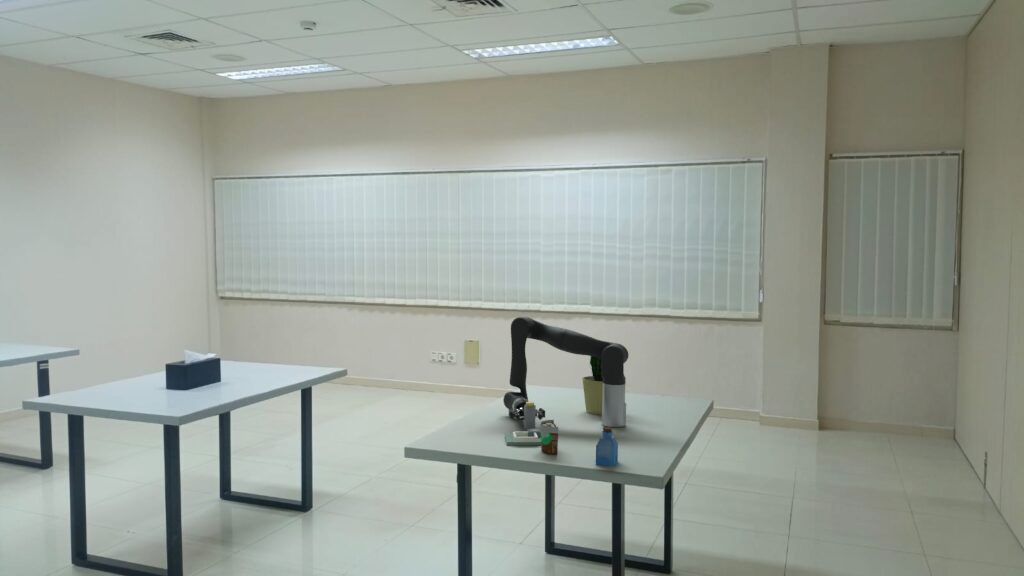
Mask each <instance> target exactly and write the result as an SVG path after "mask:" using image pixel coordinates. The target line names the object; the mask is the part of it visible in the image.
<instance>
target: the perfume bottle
mask: <svg viewBox="0 0 1024 576" xmlns="http://www.w3.org/2000/svg"><path fill="white" fill-rule="evenodd" d="M601 433H602V436H601V437H600V438H599V440H598V442H597V444H596V446H595V465H597V466H604V465H605V466H606V467H615V466H616V465H617V464H618V462H619V461H618V459H619V458H618V457H619V442H618V441H617V439H616V437H615V436H613V433H614V432H613V427H608V426H603V427H602V431H601ZM615 464H616V465H615ZM605 466H604V467H605Z"/></svg>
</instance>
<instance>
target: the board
mask: <svg viewBox="0 0 1024 576" xmlns="http://www.w3.org/2000/svg"><path fill="white" fill-rule="evenodd" d="M504 439H505V443H506V444H505V445H506V446H541V432H540V430H539V428H535V429H527V432H524V431H512V433H504Z"/></svg>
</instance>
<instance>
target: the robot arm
mask: <svg viewBox="0 0 1024 576" xmlns="http://www.w3.org/2000/svg"><path fill="white" fill-rule="evenodd" d="M510 339H511V361H510V362H511V363H510V372H509V373H510V374H509V376H510V377H509V385H510V386H511V387H514V388H517V389H519V390H520V392H519V391H507V392H506V393H505V394H504V396H503V401H502V402H503V405H504V406H505V409H508V417H509V419H513V418H514V419H516V420H517V421H520V420H522V421H524V405H526V402H530V401H529V397H528V393H527V392H528V391H527V372H528V363H527V362H528V361H527V357H526V355H527V354H526V345H527V344H526V343H527V339H531V340H536V341H540V342H544V343H546V344H548V345H549V346H551V347H553V348H555V349H558V350H560V351H562V352H565V353H568V354H569V353H570V354H574V355H580V356H588V357H589V356H590V357H591V356H594V357H598V358H601V368H602V378H603V399H602V414H601V425H602V426H603V427H612V428H621V427H626V426H627V403H626V376H625V373H624V371H625V370H624V369H625V368H624V365H625V363H626V362H627V361H628V359H629V351H628V349H627V347H626V346H624V345H623V344H621V343H617V342H609V341H605V340H602V339H601V340H600V339H597V338H594V337H592V336H589V335H586V334H584V333H580V332H577V331H574V330H572V329H571V330H570V329H567V328H564V327H558V326H554V325H548V324H544V323H543V322H540V321H538V320H535V319H533V318H530V317H527V316H519V317H515V318H514V319H513V321H512V322H511V325H510ZM536 418H537V419H538V420H540V421H541V420H542V419H543V418H546V410H545V409H544V408H541V407H539V408H538V409H537V408H536V416H535V419H536Z"/></svg>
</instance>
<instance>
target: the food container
mask: <svg viewBox="0 0 1024 576" xmlns="http://www.w3.org/2000/svg"><path fill="white" fill-rule="evenodd" d="M554 420H555V419H545V420H542V421H540V423H539V424H538V429H539V430H540V432H541V445H540V448H541V452H542V453H543V454H547V455H552V456H553V455H554V456H557V455H558V446H559V427H558V426H557V424H555V422H554Z"/></svg>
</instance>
